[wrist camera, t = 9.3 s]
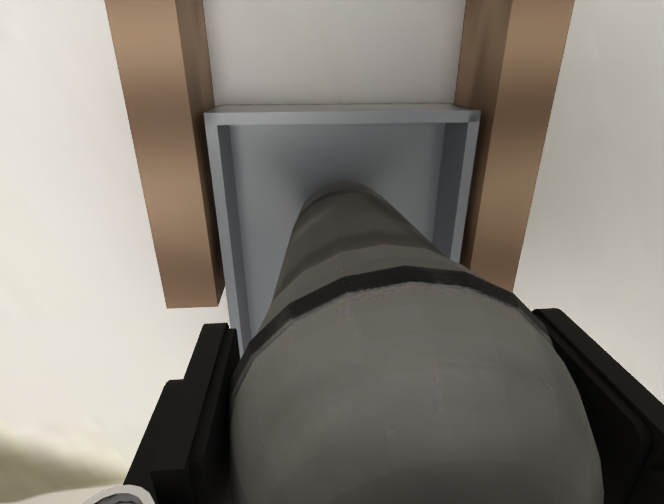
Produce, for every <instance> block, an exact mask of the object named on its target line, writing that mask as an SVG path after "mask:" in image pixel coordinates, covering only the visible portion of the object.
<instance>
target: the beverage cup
mask: <svg viewBox="0 0 664 504" xmlns="http://www.w3.org/2000/svg"><path fill="white" fill-rule="evenodd" d="M228 431H229V440H230V451H229V478H230V492H231V497H232V502H233V504H603V499H604V489H603V480H602V471H601V462H600V457H599V453H598V450H597V447H596V443H595V440H594V437H593V434H592V430H591V427H590V424H589V421H588V418H587V415H586V412H585V409H584V406H583V403H582V400H581V397H580V394H579V391H578V389H577V387H576V385H575V383H574V381H573V379H572V377H571V375H570V373H569V371H568V369H567V367H566V365H565V363H564V362H563V361H562V359H561V358H560V357H559V355H558V354H557V353H556V351H555V349H554V347H553V344H552V341H551V338H550V336H549V334H548V332H547V330H546V327H545V325H544V324H543V323H542V322H541V321H540V320H539V319H538V318H537V317H536V316H535V315H534V314H533V313H532V312H531V311H530V310H529V309H528V308H527V307H526V306H525V305H524V304H523V303H522V302H521V301H520V300H519V299H518V298H517V297H516V296H515V295H514V294H513V293H512V292H510V291H508V290H505V289H503V288H501V287H499V286H497V285H494V284H492V283H490V282H488V281H487V280H486V279H484V278H482V277H481V276H479V275H477V274H476V273H474V272H473V271H471V270H469V269H468V268H466V267H464V266H463V265H461V264H459V263H457V262H454V261H452V260H450V259H448V258H447V257H446V256H445V255H444V254H443V253H442V252H441V251H440V250H438V249H437V248H436V247H435V246H434V245H433V244H432V243H431V242H430V241H429V240H428V239H427V238H426V237H425V236H424V235H423V234H422V233H421V232H419V231H418V230H417V229H416V228H415V227H414V226H413V225H412V224H411V223H410V222H409V221H408V220H407V219H406V218H405V217H404V216H403V215H401V214H400V213H399V212H398V211H397V210H396V209H395V208H394V207H393V206H392V205H391V204H390V203H389V202H388V201H387V200H386V199H385V198H384V197H382V196H381V195H379V194H377V193H376V192H375V191H374V190H373V189H371V188H369V187H367V186H365V185H363V184H361V183H357V182H349V181H341V182H335V183H330V184H327V185H325V186H324V187H322V188H320V189H318V190H316V191H315V192H314V193H313V194H312V195H311V196H310V197H309V198H308V199H307V200H306V201H305V202H304V204H303V206H302V208H301V210H300V212H299V215H298V218H297V220H296V222H295V224H294V226H293V229H292V233H291V236H290V240H289V243H288V247H287V250H286V254H285V257H284V260H283V264H282V267H281V271H280V274H279V278H278V281H277V285H276V288H275V291H274V295H273V298H272V302H271V305H270V308H269V310H268V312H267V314H266V316H265V318H264V320H263V322H262V324H261V326H260V328H259V330H258V332H257V334H256V336H255V337H253V338H252V339H251V340H250V341H249V343H248V345H247V347H246V349H245V351H244V353H243V355H242V357H241V360H240V362H239V364H238V366H237V368H236V370H235V372H234V374H233V376H232V378H231V380H230V382H229V386H228Z"/></svg>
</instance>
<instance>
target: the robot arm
mask: <svg viewBox="0 0 664 504" xmlns="http://www.w3.org/2000/svg"><path fill="white" fill-rule="evenodd" d="M532 313H533V314H534V315H535V316H536V317H537V318H538V319H539V320H540V321H541V322H542V323H543V324H544V325H545V327H546V330H547V332H548V334H549V336H550V338H551V341H552V344H553V347H554V349H555V351H556V353H557V354H558V355H559V357H560V358H561V359H562V361H563V362H564V363H565V365H566V367H567V369H568V371H569V373H570V375H571V377H572V379H573V381H574V383H575V385H576V387H577V389H578V391H579V394H580V397H581V400H582V403H583V406H584V409H585V412H586V415H587V418H588V421H589V424H590V427H591V430H592V434H593V437H594V440H595V443H596V447H597V450H598V453H599V457H600V462H601V471H602V480H603V489H604V499H603V504H664V405H663V404H662V403H661V402H660V401H659V400H658V399H657V398H656V397H655V396H654V395H652V394H651V393H650V392H649V391H648V390H647V389H646V388H645V387H644V386H643V385H642V384H640V383H639V382H638V381H637V380H636V379H635V378H634V377H633V376H632V375H631V374H630V373H629V372H627V371H626V370H625V369H624V368H623V367H622V366H621V365H620V364H619V363H618V362H617V361H616V360H614V359H613V358H612V357H611V356H610V355H609V354H608V353H607V352H606V351H605V350H604V349H603V348H601V347H600V346H599V345H598V344H597V343H596V342H595V341H594V340H593V339H592V338H591V337H590V336H588V335H587V334H586V333H585V332H584V331H583V330H582V329H581V328H580V327H579V326H578V325H577V324H575V323H574V322H573V321H572V320H571V319H570V318H569V317H568V316H567V315H566V314H565V313H564V312H562V311H561V310H560V309H557V308H550V309H535V310H533V311H532ZM239 362H240V352H239V344H238V335H237V330H236V328H233V329H229V325H228V323H214V324H204V325H203V327H202V330H201V333H200V335H199V338H198V341H197V343H196V346H195V349H194V352H193V354H192V357H191V360H190V362H189V365H188V368H187V371H186V373H185V376H184V379H180V380H169V381H168V382H167V383H166V385H165V386H164V388H163V391H162V393H161V395H160V398H159V400H158V403H157V405H156V407H155V410H154V412H153V414H152V417H151V419H150V422H149V424H148V426H147V429H146V431H145V433H144V436H143V438H142V441H141V443H140V445H139V448H138V450H137V452H136V455H135V457H134V460H133V462H132V464H131V467H130V469H129V471H128V474H127V476H126V479H125V481H124V483H123V485H121V486H115V487H112V488H109V489H106V490H103V491H101V492H100V493H98V494H96V495H94V496H93V497H91V498H89V499H88V500H87V501H85V502H84V503H83V504H233V502H232V497H231V492H230V478H229V451H230V440H229V431H228V386H229V382H230V380H231V378H232V376H233V374H234V372H235V370H236V368H237V366H238V364H239Z"/></svg>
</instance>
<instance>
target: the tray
mask: <svg viewBox="0 0 664 504" xmlns="http://www.w3.org/2000/svg"><path fill="white" fill-rule="evenodd" d="M203 114H204V121H205V129H206V137H207V145H208V153H209V160H210V168H211V176H212V184H213V192H214V199H215V207H216V215H217V223H218V231H219V239H220V246H221V254H222V262H223V270H224V278H225V285H226V293H227V301H228V309H229V317H230V324H231V329H233V328H236V330H237V335H238V344H239V352H240V360H241V357H242V355H243V353H244V351H245V349H246V347H247V345H248V343H249V341H250V340H251V339H252V338H253V337H255V336H256V334H257V332H258V330H259V328H260V326H261V324H262V322H263V320H264V318H265V316H266V314H267V312H268V310H269V308H270V305H271V302H272V298H273V295H274V291H275V288H276V285H277V281H278V278H279V274H280V271H281V267H282V264H283V260H284V257H285V254H286V250H287V247H288V243H289V240H290V236H291V233H292V229H293V226H294V224H295V222H296V220H297V218H298V215H299V212H300V210H301V208H302V206H303V204H304V202H305V201H306V200H307V199H308V198H309V197H310V196H311V195H312V194H313V193H314V192H315V191H316V190H318V189H320V188H322V187H324V186H325V185H327V184H330V183H335V182H341V181H349V182H357V183H361V184H363V185H365V186H367V187H369V188H371V189H373V190H374V191H375V192H376V193H377V194H379V195H381V196H382V197H384V198H385V199H386V200H387V201H388V202H389V203H390V204H391V205H392V206H393V207H394V208H395V209H396V210H397V211H398V212H399V213H400V214H401V215H403V216H404V217H405V218H406V219H407V220H408V221H409V222H410V223H411V224H412V225H413V226H414V227H415V228H416V229H417V230H418V231H419V232H421V233H422V234H423V235H424V236H425V237H426V238H427V239H428V240H429V241H430V242H431V243H432V244H433V245H434V246H435V247H436V248H437V249H438V250H440V251H441V252H442V253H443V254H444V255H445V256H446V257H447V258H448V259H450V260H452V261H454V262H457V263H459V261H460V254H461V247H462V240H463V233H464V226H465V219H466V212H467V205H468V198H469V191H470V184H471V178H472V171H473V164H474V157H475V150H476V143H477V136H478V129H479V122H480V115H481V110H477V109H473V108H468V107H464V106H460V105H455V104H451V103H425V104H297V105H220V106H217V107H215V108H213V109H211V110H209V111H207V112H204V113H203Z"/></svg>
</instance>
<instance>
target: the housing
mask: <svg viewBox="0 0 664 504" xmlns="http://www.w3.org/2000/svg"><path fill="white" fill-rule="evenodd" d="M104 1H105V5H106V10H107V15H108V20H109V25H110V30H111V35H112V40H113V45H114V50H115V55H116V60H117V65H118V70H119V74H120V79H121V84H122V89H123V94H124V99H125V104H126V109H127V114H128V119H129V124H130V129H131V134H132V139H133V143H134V148H135V153H136V158H137V163H138V168H139V173H140V178H141V183H142V188H143V193H144V198H145V203H146V208H147V212H148V217H149V222H150V227H151V232H152V237H153V242H154V247H155V252H156V257H157V262H158V267H159V272H160V277H161V281H162V286H163V291H164V296H165V301H166V306H167V308H191V307H216V306H218V304H219V302H220V299H221V296H222V293H223V290H224V287H225V278H224V270H223V262H222V254H221V246H220V239H219V231H218V223H217V215H216V207H215V199H214V192H213V184H212V176H211V168H210V160H209V153H208V145H207V137H206V129H205V121H204V114H203V113H204V112H207V111H209V110H211V109H213V108H215V105H214V97H213V88H212V79H211V71H210V62H209V54H208V45H207V36H206V28H205V19H204V11H203V2H202V0H104ZM574 1H575V0H466V8H465V16H464V25H463V33H462V42H461V50H460V59H459V67H458V76H457V84H456V93H455V101H454V104H455V105H460V106H464V107H468V108H473V109H477V110H481V115H480V122H479V129H478V136H477V143H476V150H475V157H474V164H473V171H472V178H471V184H470V191H469V198H468V205H467V212H466V219H465V226H464V233H463V240H462V247H461V254H460V261H459V264H461V265H463V266H464V267H466V268H468V269H469V270H471V271H473V272H474V273H476V274H477V275H479V276H481V277H482V278H484V279H486V280H487V281H488V282H490V283H492V284H494V285H497V286H499V287H501V288H503V289H505V290H508V291H510V292H513V287H514V282H515V278H516V273H517V268H518V264H519V259H520V254H521V250H522V245H523V240H524V236H525V231H526V226H527V221H528V217H529V212H530V207H531V203H532V198H533V193H534V189H535V184H536V179H537V175H538V170H539V165H540V160H541V156H542V151H543V146H544V142H545V137H546V132H547V128H548V123H549V118H550V114H551V109H552V104H553V100H554V95H555V90H556V85H557V81H558V76H559V71H560V67H561V62H562V57H563V53H564V48H565V43H566V39H567V34H568V29H569V24H570V20H571V15H572V10H573V6H574Z"/></svg>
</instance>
